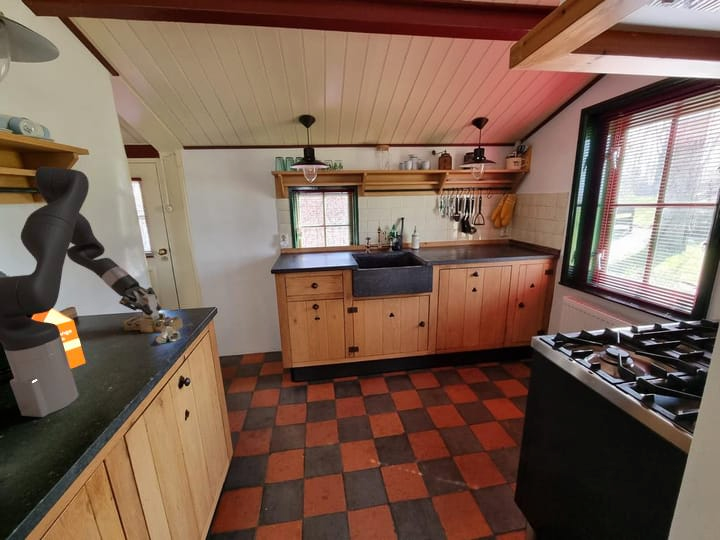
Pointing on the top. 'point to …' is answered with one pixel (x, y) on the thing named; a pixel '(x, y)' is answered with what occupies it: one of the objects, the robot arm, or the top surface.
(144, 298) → the square grey block
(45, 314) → the orange juice
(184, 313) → the top surface
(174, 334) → the pipe fitting
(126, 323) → the gold block with rollers
